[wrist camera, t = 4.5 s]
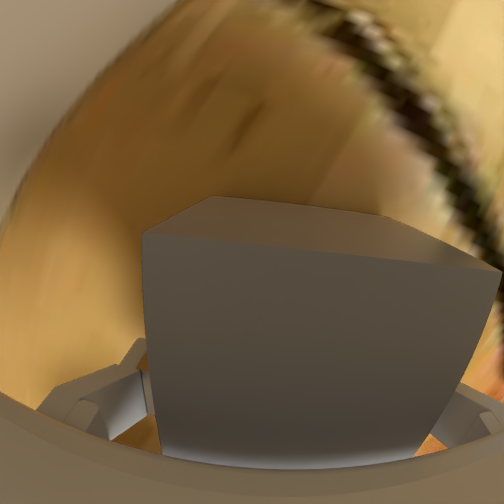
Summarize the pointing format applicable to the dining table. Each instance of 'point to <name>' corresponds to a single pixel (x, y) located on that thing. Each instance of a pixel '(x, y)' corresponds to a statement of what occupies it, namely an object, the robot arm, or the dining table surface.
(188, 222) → the plain grey carton
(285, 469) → the robot arm
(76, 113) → the dining table surface
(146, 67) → the dining table surface
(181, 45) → the dining table surface
